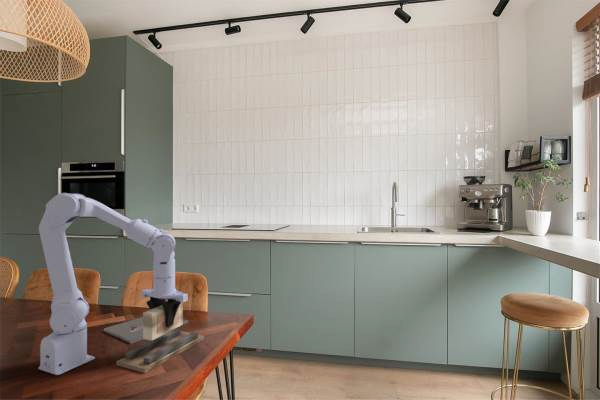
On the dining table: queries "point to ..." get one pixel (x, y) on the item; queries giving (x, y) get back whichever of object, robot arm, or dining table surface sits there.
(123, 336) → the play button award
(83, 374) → the dining table surface
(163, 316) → the cream rectangular block
